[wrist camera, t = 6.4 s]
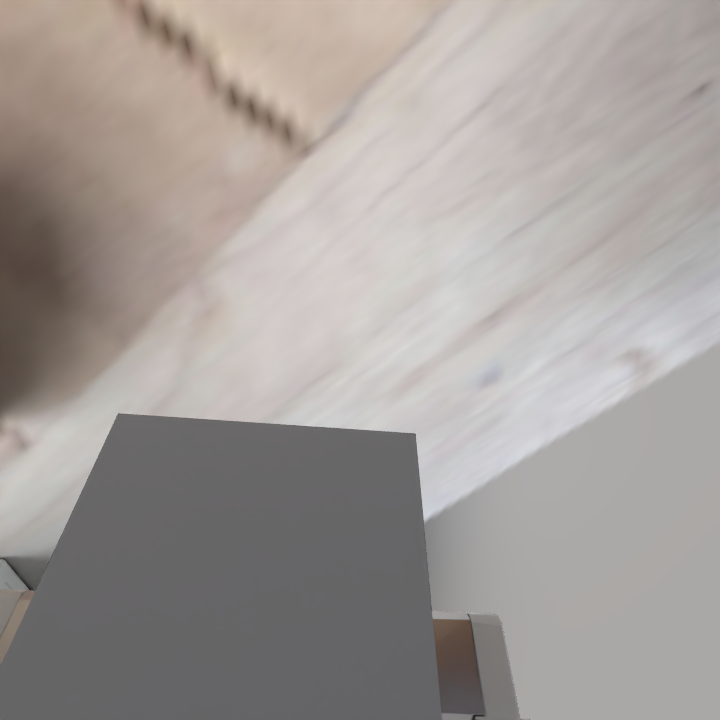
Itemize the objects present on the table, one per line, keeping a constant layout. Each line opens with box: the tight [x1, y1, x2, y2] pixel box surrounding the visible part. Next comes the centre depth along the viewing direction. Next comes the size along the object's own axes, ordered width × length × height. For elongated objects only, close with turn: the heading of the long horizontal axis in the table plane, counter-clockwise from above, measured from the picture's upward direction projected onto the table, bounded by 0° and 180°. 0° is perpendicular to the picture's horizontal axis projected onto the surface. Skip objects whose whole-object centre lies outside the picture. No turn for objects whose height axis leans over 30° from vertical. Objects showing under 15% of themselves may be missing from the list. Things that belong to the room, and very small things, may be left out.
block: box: [0, 413, 442, 720], centre depth 10 cm, size 5×5×6 cm
